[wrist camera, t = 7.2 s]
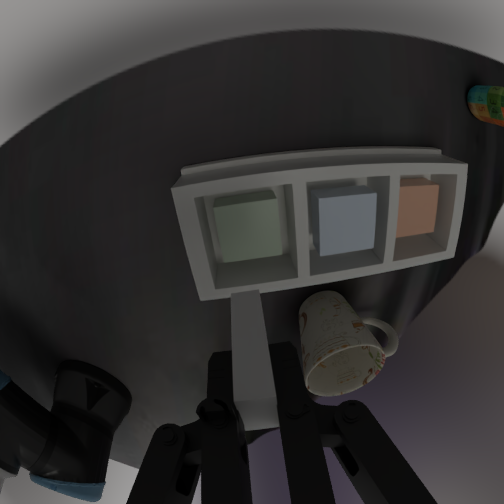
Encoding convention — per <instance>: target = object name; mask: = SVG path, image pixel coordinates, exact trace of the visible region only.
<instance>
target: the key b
mask: <svg viewBox="0 0 504 504" xmlns="http://www.w3.org/2000/svg"><path fill="white" fill-rule="evenodd" d="M310 191H311V209H312V233H313V245H314V246H315V248H316V250H317V252H318V254H319V255H320V256H326V255H333V254H339V253H346V252H352V251H359V250H365V249H371V248H374V237H375V223H376V203H377V193H376V192H374V191H373V190H371V189H370V188H368V187H367V186H365V185H359V186H347V187H336V188H326V189H316V190H310Z"/></svg>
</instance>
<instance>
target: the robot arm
mask: <svg viewBox="0 0 504 504" xmlns="http://www.w3.org/2000/svg"><path fill="white" fill-rule="evenodd" d="M231 331H232V350H231V351H222V352H213V354H212V356H211V358H210V360H209V362H208V384H207V398H206V399H205V400H203V401H201V403H200V404H199V405H198V406H197V410H196V413H197V415H198V416H199V418H200V419H199V420H197V421H195V422H193V423H190V424H187V425H184V426H181V427H180V426H178V425H175V424H164V425H162V426H160V427H159V428H157V430H156V431H155V433H154V435H153V437H152V439H151V442H150V444H149V447H148V449H147V452H146V454H145V457H144V459H143V462H142V464H141V467H140V469H139V472H138V475H137V477H136V480H135V483H134V485H133V487H132V490H131V492H130V495H129V498H128V500H127V503H126V504H191V503H192V500H193V497H194V493H195V490H196V486H197V483H198V480H199V476H200V473H201V504H253V503H252V493H251V482H250V470H249V459H248V448H247V441H246V438H245V430H246V431H248V430H257V429H265V428H272V427H279V426H280V432H281V439H282V445H283V452H284V458H285V465H286V472H287V478H288V485H289V491H290V498H291V504H336V503H335V499H334V494H333V490H332V485H331V481H330V476H329V472H328V468H327V464H326V459H325V455H324V451H323V447H331V449H332V451H333V453H334V454H335V456H336V457H337V459H338V461H339V463H340V464H341V466H342V468H343V469H344V471H345V473H346V474H347V476H348V477H349V479H350V481H351V482H352V484H353V486H354V487H355V489H356V490H357V492H358V494H359V495H360V497H361V498H362V500H363V502H364V503H365V504H437V502H436V501H435V499H434V498H433V497H432V495H431V494H430V493H429V491H428V490H427V489H426V487H425V486H424V484H423V483H422V482H421V480H420V479H419V478H418V476H417V475H416V473H415V472H414V471H413V469H412V468H411V467H410V465H409V464H408V463H407V461H406V460H405V458H404V457H403V456H402V454H401V453H400V451H399V450H398V449H397V447H396V446H395V445H394V443H393V442H392V441H391V439H390V438H389V436H388V435H387V434H386V432H385V431H384V430H383V428H382V427H381V426H380V424H379V423H378V421H377V420H376V419H375V417H374V416H373V415H372V413H371V412H370V410H369V409H368V408H367V406H365V405H364V404H363V403H362V402H360V401H357V400H348V401H345V402H342V403H341V404H340V405H338V406H328V405H320V404H318V403H316V402H314V401H313V400H312V399H311V398H310V397H309V395H308V393H307V389H306V385H305V381H304V377H303V374H302V370H301V366H300V362H299V358H298V354H297V350H296V348H295V347H294V346H293V345H292V343H291V342H290V341H288V342H282V343H276V344H270V345H268V342H267V335H266V329H265V323H264V317H263V311H262V305H261V298H260V292H259V289H257V290H250V291H244V292H237V293H231ZM55 383H56V384H55V389H54V400H53V406H52V409H51V411H50V412H49V411H48V410H47V409H45V408H44V407H43V406H42V405H40V404H39V403H38V402H36V401H35V400H34V399H33V398H32V397H30V396H29V395H28V394H27V393H26V392H24V391H23V390H22V389H21V388H20V387H19V386H18V385H16V384H15V383H14V382H13V381H12V380H11V377H10V376H7V375H6V374H5V373H3V372H2V371H1V370H0V492H1V489H2V486H3V482H4V479H5V478H8V477H16V476H17V474H18V471H19V468H20V466H21V467H23V468H25V469H27V470H28V471H30V474H29V475H30V479H31V480H32V481H33V482H35V483H37V484H39V485H41V486H44V487H46V488H49V489H51V490H54V491H57V492H59V493H62V494H65V495H68V496H71V497H74V498H78V499H81V500H86V501H90V502H96V501H98V500H100V499H101V496H102V492H103V488H104V485H105V483H106V482H105V478H106V472H107V466H108V461H109V455H110V450H111V445H112V441H113V436H114V433H115V431H116V430H117V428H118V427H119V425H120V424H121V422H122V421H123V419H124V417H125V416H126V415H127V414H128V412H129V410H130V406H131V402H132V397H131V395H130V393H129V391H128V390H127V389H126V387H125V386H124V385H123V384H122V383H120V382H119V381H118V380H117V379H115V378H114V377H112V376H111V375H109V374H108V373H106V372H104V371H102V370H100V369H98V368H96V367H94V366H92V365H89V364H86V363H83V362H79V361H64V362H62V363H61V364H60V365H59V367H58V369H57V371H56V374H55Z"/></svg>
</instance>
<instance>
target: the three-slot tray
mask: <svg viewBox="0 0 504 504" xmlns="http://www.w3.org/2000/svg"><path fill="white" fill-rule="evenodd" d="M467 168H468V164H466V163H464V162H461V161H458V160H456V159H453V158H450V157H447V156H444V155H441V150H440V149H437V148H433V147H410V146H363V147H337V148H320V149H306V150H295V151H285V152H275V153H266V154H258V155H251V156H243V157H236V158H230V159H223V160H217V161H211V162H205V163H200V164H195V165H189V166H184V167H183V168H182V169H181V174H182V176H181V177H180V178H179V179H178V180H177V182H176V183H175V184H174V185H173V186H172V188H171V191H172V195H173V200H174V204H175V208H176V212H177V217H178V221H179V225H180V229H181V233H182V237H183V240H184V244H185V248H186V252H187V256H188V259H189V263H190V266H191V270H192V274H193V277H194V281H195V284H196V288H197V291H198V294H199V298H200V301H205V300H213V299H221V298H229V297H231V293H237V292H244V291H250V290H257V289H259V292H260V293H265V292H272V291H279V290H285V289H292V288H298V287H304V286H311V285H317V284H323V283H328V282H334V281H340V280H346V279H351V278H357V277H362V276H367V275H372V274H378V273H383V272H388V271H393V270H398V269H402V268H407V267H412V266H417V265H421V264H426V263H430V262H435V261H439V260H444V259H448V258H452V257H454V254H455V250H456V245H457V241H458V236H459V230H460V225H461V219H462V213H463V206H464V199H465V190H466V181H467ZM414 178H426V179H428V180H430V181H432V182H435V183H437V184H439V193H438V203H437V211H436V219H435V226H434V232H430V233H424V234H417V235H411V236H405V237H398V238H396V230H397V220H398V207H399V191H400V179H414ZM359 185H365V186H367V187H368V188H370V189H371V190H373V191H374V192H376V193H377V203H376V223H375V237H374V248H371V249H365V250H359V251H352V252H346V253H339V254H333V255H326V256H320V255H319V254H318V252H317V250H316V248H315V246H314V245H313V233H312V209H311V191H310V190H316V189H326V188H336V187H347V186H359ZM272 190H273V191H274V194H275V196H276V198H277V203H278V213H279V224H280V234H281V245H282V255H277V256H270V257H263V258H256V259H249V260H242V261H235V262H228V263H224V260H223V256H222V251H221V246H220V241H219V236H218V231H217V226H216V221H215V216H214V210H213V206H214V201H215V199H217V198H223V197H229V196H236V195H243V194H250V193H257V192H264V191H272Z"/></svg>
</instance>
